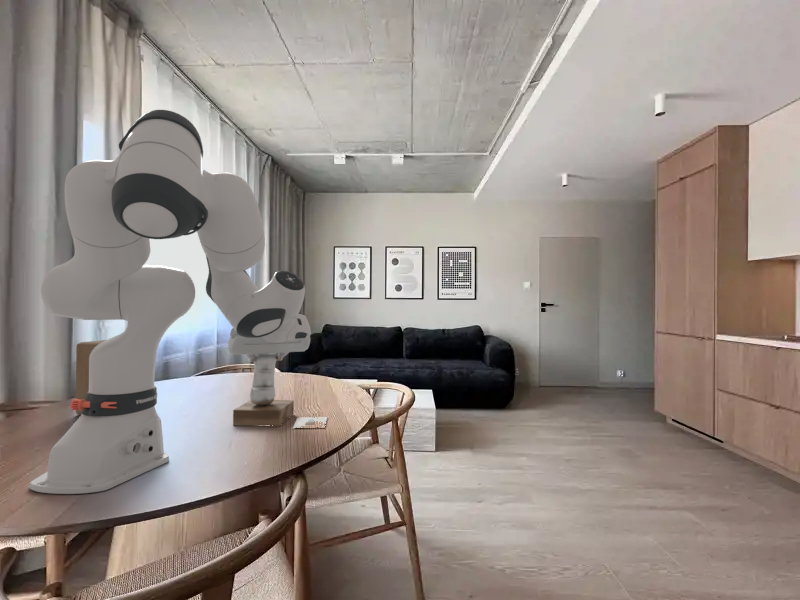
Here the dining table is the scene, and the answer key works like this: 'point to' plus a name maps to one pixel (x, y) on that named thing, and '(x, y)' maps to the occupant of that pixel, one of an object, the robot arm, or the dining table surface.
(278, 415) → the base block
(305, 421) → the page
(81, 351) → the block
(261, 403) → the plastic bottle
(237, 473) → the dining table surface
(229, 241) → the robot arm
